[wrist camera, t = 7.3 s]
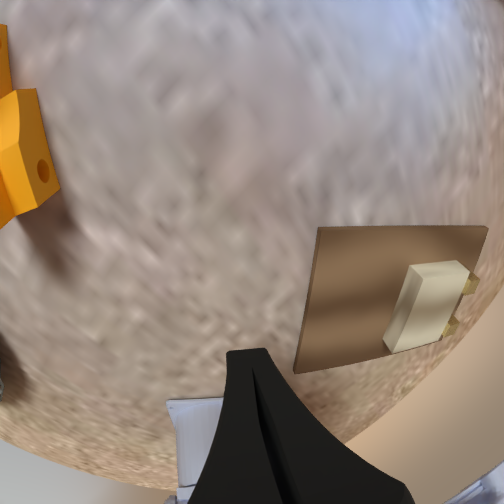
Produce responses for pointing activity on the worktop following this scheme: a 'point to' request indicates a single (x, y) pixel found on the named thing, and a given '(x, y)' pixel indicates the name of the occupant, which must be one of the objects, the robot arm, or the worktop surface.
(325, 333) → the bench board
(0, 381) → the pie
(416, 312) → the ivory block
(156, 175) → the worktop surface
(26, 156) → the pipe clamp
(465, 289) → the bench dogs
